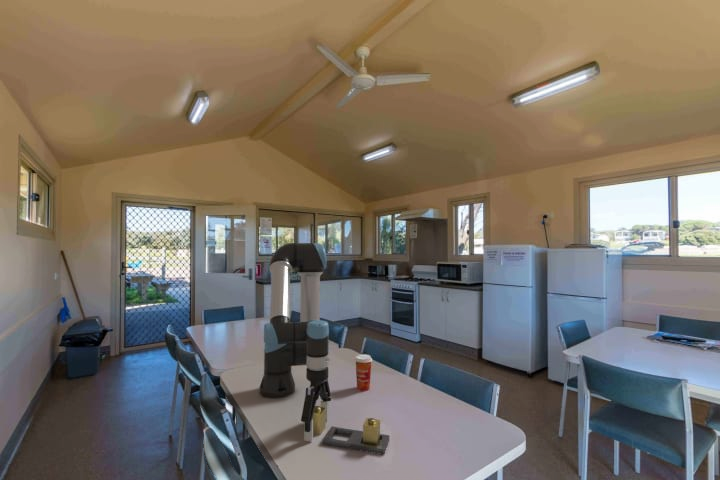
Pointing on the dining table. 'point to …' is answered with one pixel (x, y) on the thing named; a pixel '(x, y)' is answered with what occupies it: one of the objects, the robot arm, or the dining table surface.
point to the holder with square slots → (360, 437)
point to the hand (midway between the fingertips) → (316, 429)
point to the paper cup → (363, 372)
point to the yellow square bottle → (319, 420)
